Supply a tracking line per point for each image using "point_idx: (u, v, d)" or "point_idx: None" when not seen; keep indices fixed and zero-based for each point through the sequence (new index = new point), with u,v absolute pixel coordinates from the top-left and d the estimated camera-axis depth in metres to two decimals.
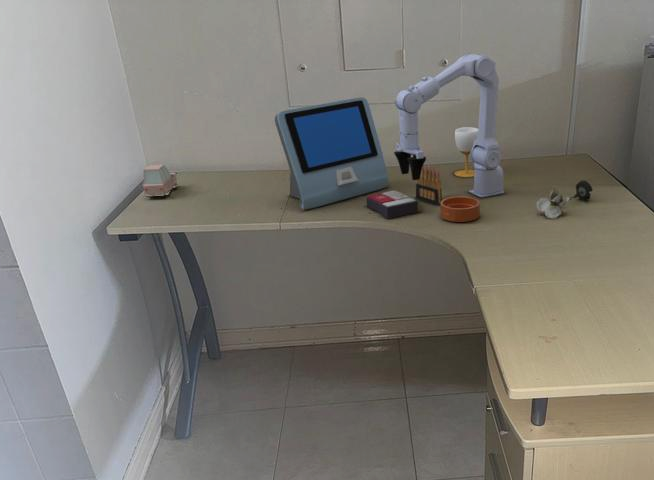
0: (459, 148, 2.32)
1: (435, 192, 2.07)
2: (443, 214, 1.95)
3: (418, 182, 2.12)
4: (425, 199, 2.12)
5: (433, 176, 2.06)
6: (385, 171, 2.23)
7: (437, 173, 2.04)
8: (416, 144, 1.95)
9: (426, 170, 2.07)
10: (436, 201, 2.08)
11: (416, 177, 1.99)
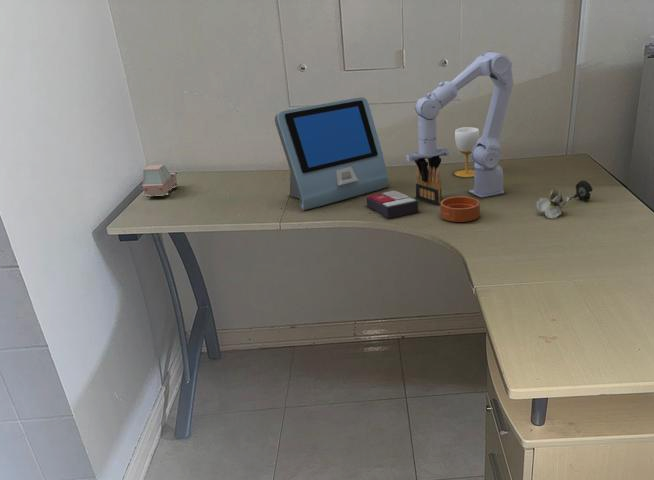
0: (459, 148, 2.32)
1: (435, 192, 2.07)
2: (443, 214, 1.95)
3: (418, 182, 2.12)
4: (425, 199, 2.12)
5: (433, 176, 2.06)
6: (385, 171, 2.23)
7: (437, 173, 2.04)
8: (422, 150, 2.02)
9: None
10: (436, 201, 2.08)
11: (423, 179, 2.08)
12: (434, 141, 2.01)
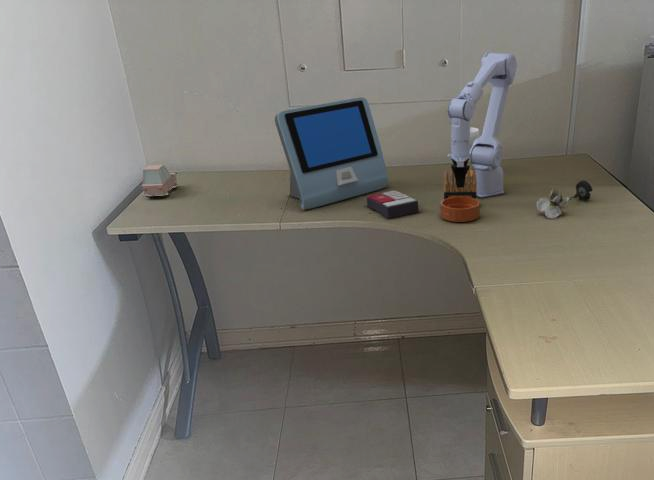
0: None
1: (473, 195, 2.04)
2: (443, 214, 1.95)
3: (447, 190, 2.04)
4: None
5: (469, 179, 2.02)
6: (385, 171, 2.23)
7: (475, 175, 2.01)
8: (464, 152, 1.95)
9: None
10: None
11: (459, 185, 1.99)
12: None
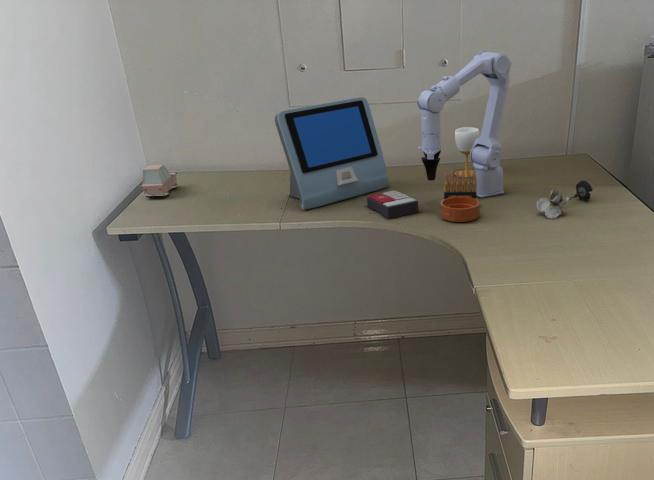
0: (459, 148, 2.32)
1: (473, 195, 2.04)
2: (443, 214, 1.95)
3: (447, 190, 2.04)
4: None
5: (469, 179, 2.02)
6: (385, 171, 2.23)
7: (475, 175, 2.01)
8: (434, 145, 1.95)
9: (458, 175, 2.01)
10: None
11: (431, 177, 1.98)
12: None
